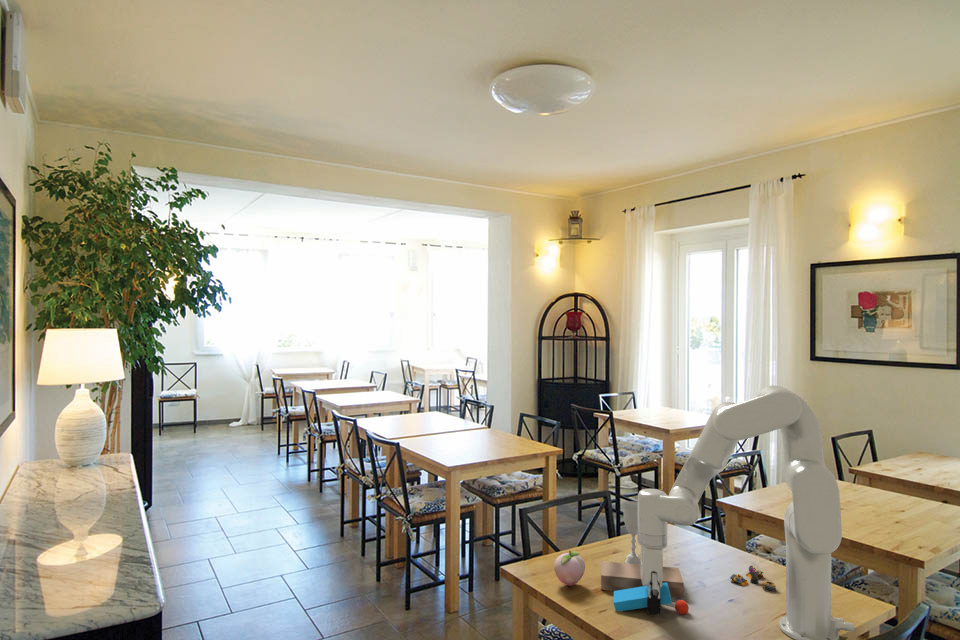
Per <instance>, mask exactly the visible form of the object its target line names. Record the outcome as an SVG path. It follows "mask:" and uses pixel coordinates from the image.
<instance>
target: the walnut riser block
mask: <svg viewBox="0 0 960 640" xmlns="http://www.w3.org/2000/svg"><path fill="white" fill-rule="evenodd" d="M640 566H641V565H639V564H628V563H625V562H615V561H614V562H613V561H603V560H601V561H600V590H602V591H603V590H604V591H611V592H612V591H613V592H614V591H618V590H624V589H630V588H636V587H642V586H643V585H642V581H641V575H640ZM662 583H667V584H668V587H669V591H670V596H671V598H672V597H675V598H684V596H685V595H684V587H685V586H684V585H685V584H684V580H683V577H682V574H681V572H680V568H679V567H671V566H663V578H662Z"/></svg>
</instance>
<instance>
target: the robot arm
mask: <svg viewBox="0 0 960 640" xmlns="http://www.w3.org/2000/svg"><path fill="white" fill-rule="evenodd" d="M776 430H777V431H778V430H780V432H781V436H782V445H783V459H784V461H783V462H784V480H785V483H786V484H787V487H788V488H789V489H790V491H791V495H792V496H791V497H792V501H791V502H790V503H789V504H788V506H787V507H786V509H785V512H784V518H783V519H784V520H783V525H784V536H785V537H784V538H785V550H786V551H785V554H786V555H785V557H786V558H785V559H786V560H785V598H786V599H785V615H783V616H782V617H780V618H779V620H778V625H779V628H780V630H781V631H782V632H783V633H784V634H785V635H786V636H788V637H789V638H792V639H794V640H840V634H839V632H840V631H845V632H853V633H854V632H855V630H856V629H855V625H854V623H853V622H848V621H845V620H844V618H843V617H833V616H832V553H833V552H835V551H836V550H837V549H838V547H839V546H840V545H841V542H842V538H843V537H842V536H843V528H842V527H843V525H842V512H841V511H842V510H841V495H840V489H839V484H838V482H837V479H836V477H835V475H834V473H832V471H831V470H830V469H828V468H827V465H826V463H825V455H824V454H825V453H824V445H823V437H822V430H821V426H820V422H819V420H818V418H817V416H816V414H815V412H814V411H813V409H812V408H811V407H810V405H808V403H807V402H806V401H805V400H804V399H803V398H802V397H801V396H800V395H798V394H797V393H795V392H793V391H791V390H789V389H788V388H785V387H783V386H780V385H768V386H766V387H763V388H762V389H761V390H759V392H758V394H757V396H756V397H754V398H751V399H748V400H745V401H741V402H738V403H736V402H732V401H724V402H720V403H718V404H717V405H716V406H715V407H714V408H713V410H712V412H711V413H710V416H709V418H708V419H707V421H706V424H705V425H704V427H703V429H702V431H701V433H700V435H699V437H698V438H697V441H696V442H695V444H694V446H693V449H692V450H691V452H690V453H689V456H688V457H687V459H686V461H685V463H684V465H683V466H682V468H681V470H680V471H679V474H678V475H677V477H676V479H675V481H674V482H673V484H672V487H671V489H670V491H669V494H668V495H667V494H666V492H665V491H663V490H661V489H657V488H643V489H641V490H639V491H638V493H637V502H638V534H637V544H638V545H639V546H640V561H641V566H640V575H641V581H642V585H643V586H644V587H645V586H648V597H647V607H646V609H647V611H646V612H647V614H651V615H661V612H662V611H661V608H662V607H661V606H662V605H661V598H660V589H659V588H661V587H662V578H663V567H664V551H663V550H664V549H666V548H667V547H668V523H669V524H670V523H671V524H673V525H677V526H681V527H682V526H683V527H689V526H693V525H695V524H696V523H697V521H698V520H699V518H700V508H699V501H700V499H701V497H702V495H703V493H704V492H705V490H706V488H707V486H708V485H709V483H710V481H711V480H712V479H713V477H715V476H716V475H718V474H719V473H721V472H722V471H723V470H724V469H725V468H726V466H727V464H728V462H729V461H730V458H731V456H732V454H733V452H734V451H735V448H736V447H737V444H738V443H739V442H740V441H743V440H749V439H751V438H754V437H758V436H761V435H764V434H767V433H770V432H774V431H776ZM651 588H652V590H651Z"/></svg>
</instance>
